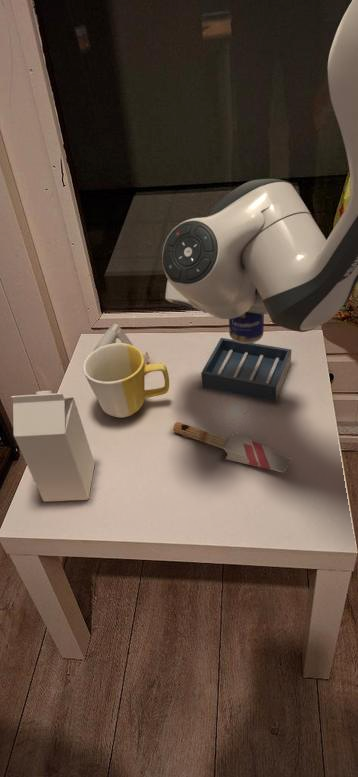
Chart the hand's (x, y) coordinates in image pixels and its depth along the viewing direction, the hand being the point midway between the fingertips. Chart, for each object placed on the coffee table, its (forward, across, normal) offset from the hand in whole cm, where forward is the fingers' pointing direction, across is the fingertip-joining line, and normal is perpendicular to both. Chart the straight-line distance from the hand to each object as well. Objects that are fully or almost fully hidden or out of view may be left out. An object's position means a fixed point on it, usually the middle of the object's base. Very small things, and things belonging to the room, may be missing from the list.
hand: (247, 305), depth 88 cm
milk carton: (-10, +20, +33) cm, 40 cm away
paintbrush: (0, -2, +24) cm, 24 cm away
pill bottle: (+4, 0, +4) cm, 6 cm away
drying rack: (+12, +1, +11) cm, 16 cm away
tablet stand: (+8, +23, +15) cm, 29 cm away
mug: (+2, +17, +20) cm, 27 cm away
